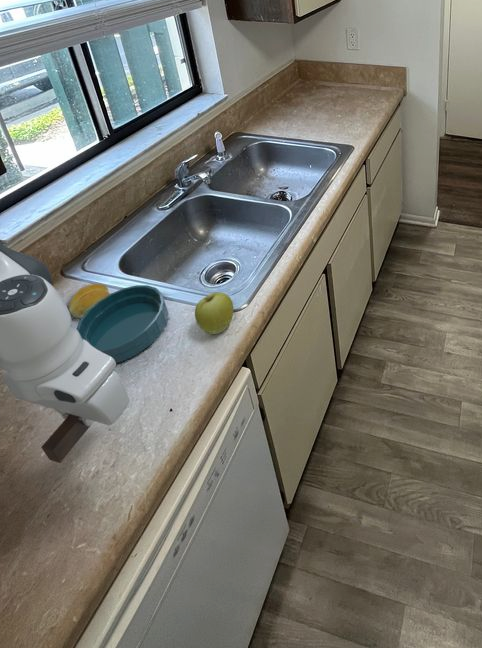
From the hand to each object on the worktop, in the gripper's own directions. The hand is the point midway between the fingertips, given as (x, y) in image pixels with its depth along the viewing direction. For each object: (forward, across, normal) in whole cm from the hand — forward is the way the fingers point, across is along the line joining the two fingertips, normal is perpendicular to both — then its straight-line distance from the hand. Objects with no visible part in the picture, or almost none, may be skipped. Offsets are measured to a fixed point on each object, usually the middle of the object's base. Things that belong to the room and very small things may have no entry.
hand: (81, 418), depth 73 cm
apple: (+11, +4, +28) cm, 31 cm away
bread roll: (+12, -29, +26) cm, 41 cm away
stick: (+2, 0, 0) cm, 2 cm away
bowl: (+11, -15, +22) cm, 29 cm away
